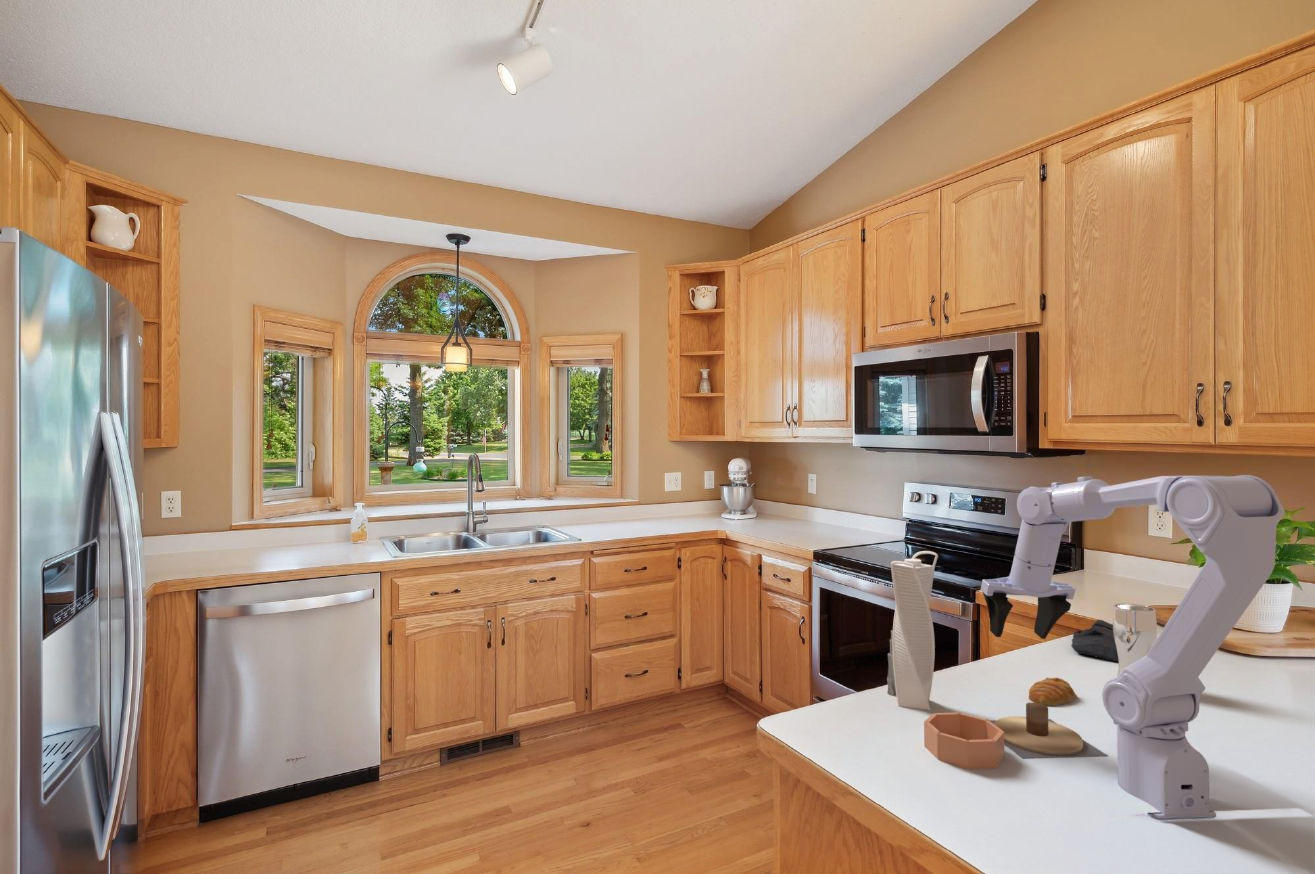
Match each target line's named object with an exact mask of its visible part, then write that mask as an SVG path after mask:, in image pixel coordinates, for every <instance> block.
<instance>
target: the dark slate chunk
mask: <svg viewBox="0 0 1315 874" xmlns="http://www.w3.org/2000/svg"><path fill="white" fill-rule="evenodd" d="M1072 637H1073V638H1072V639H1071V641H1072V642H1071V646H1070V647H1071V648H1072V649H1073V651H1075V653H1078V654H1080V653H1081V654H1080V655H1083V654H1087V655H1086V656H1090V655H1091V656H1090V657H1093V656H1094V657H1095V656H1097V657H1096V658H1098V657H1100V658H1099V659H1102V658H1104V659H1103V660H1106V659H1107V660H1106V661H1110V660H1111V661H1110V662H1115V661H1116V663H1118V662H1119V661H1118V654H1117V650H1116V645H1115V640H1114V634H1113V623H1109V622H1107V621H1104V620H1103V619H1097V620H1096V621H1095V622H1094V623H1092V625H1091V627H1090V628H1086V629H1084V630H1080V629H1079V630H1075V631H1074V632H1073V636H1072Z"/></svg>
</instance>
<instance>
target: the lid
mask: <svg viewBox="0 0 1315 874" xmlns="http://www.w3.org/2000/svg"><path fill="white" fill-rule="evenodd" d="M1048 719H1049V706H1045V705H1042V704H1039V703H1034V702H1027V703H1026V704H1025V716H1017V715H1016V716H1004V717H999V718H998V719H997V720H996V721H995V723H994V725H996V726H997V727H998V728H1000V729H1001V730H1003V731H1004V741H1005V742H1007V743H1009V744H1011V745H1014V746H1016V747H1019V748H1021V749H1025V750H1028V751H1032V752H1036V753H1042V754H1049V755H1072V754H1076V753H1078V752H1080V751H1081V750H1082V749H1083V740H1084V739H1083V737H1081V735H1080V734H1079V733H1077V732H1076V731H1074V730H1072V729H1071V728H1069V727H1067V726H1064V725H1062V724H1061V723H1060V724H1059V723H1057V722H1056V723H1054V722H1055V721H1054V722H1050V721H1048Z"/></svg>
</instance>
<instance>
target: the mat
mask: <svg viewBox="0 0 1315 874" xmlns="http://www.w3.org/2000/svg"><path fill="white" fill-rule="evenodd" d="M988 720H989V719H988ZM989 721H990V722H992V723H993V724H994V723H995V721H996V720H989ZM1048 721H1050V722H1054V723H1057V722H1055V721H1054V720H1053V719H1051V718H1048ZM1004 746H1005V747H1007V748H1008V749H1010V750H1011V752H1013V753H1015V754H1016V755H1017V756H1019V757H1020V758H1022V760H1023V759H1025V760H1026V759H1054V758H1055V759H1056V758H1057V759H1058V758H1061V759H1062V758H1089V757H1091V758H1093V757H1094V758H1095V757H1109V755H1108V754H1106V753H1104V752H1103V751H1102V750H1100V749H1099V748H1097V747H1096V746H1094V745H1093V744H1090V743H1089V742H1087V741H1086V740H1085V739H1083V749H1082V750H1081V751H1080V752H1078V753H1076V754H1072V755H1049V754H1042V753H1036V752H1032V751H1028V750H1025V749H1021V748H1019V747H1016V746H1014V745H1011V744H1009V743H1007V742H1005V741H1004Z"/></svg>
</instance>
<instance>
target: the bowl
mask: <svg viewBox="0 0 1315 874" xmlns="http://www.w3.org/2000/svg"><path fill="white" fill-rule="evenodd" d="M923 723H924V724H923V731H924V732H923V733H924V735H923V737H924V739H923V741H924V743H923V746H924V748H925V749H927V751H928V752H929V753H931V754H932V755H933V756H934V758H936V759H937V760H938V761H941V762H944V763H948V764H952V765H955V766H958V767H960V768H965V769H968V770H969V769H971V770H972V769H973V770H974V769H975V770H976V769H997V768H998V767H999V766H1000V764H1001V763H1002V761H1004V759H1005V745H1004V731H1003V730H1001V729H1000V728H998V727H997V726H996V725H994V724H993V723H992V722H990V721H989V719H986V718H982V717H978V716H974V715H970V714H967V713H964V712H963V713H962V712H934V713H932V714H931V715H930V716H929V717H928V718H927V719H925V720H924V721H923Z"/></svg>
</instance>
